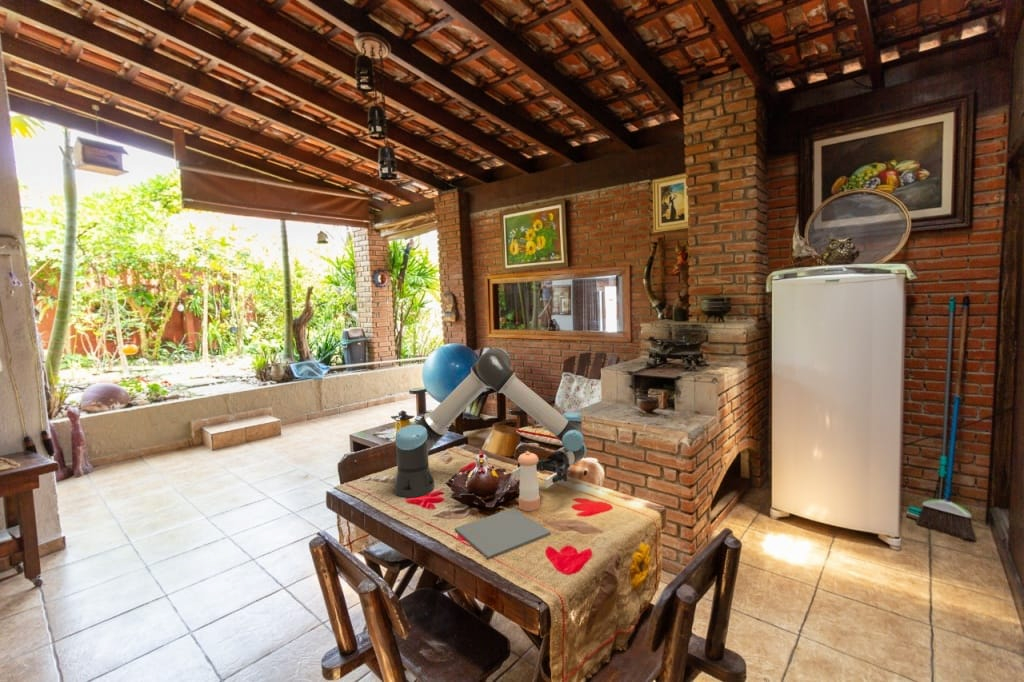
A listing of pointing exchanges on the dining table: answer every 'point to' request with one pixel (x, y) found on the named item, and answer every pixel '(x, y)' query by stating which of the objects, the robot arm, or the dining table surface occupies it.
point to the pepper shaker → (528, 482)
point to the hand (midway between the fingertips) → (529, 479)
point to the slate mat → (501, 532)
